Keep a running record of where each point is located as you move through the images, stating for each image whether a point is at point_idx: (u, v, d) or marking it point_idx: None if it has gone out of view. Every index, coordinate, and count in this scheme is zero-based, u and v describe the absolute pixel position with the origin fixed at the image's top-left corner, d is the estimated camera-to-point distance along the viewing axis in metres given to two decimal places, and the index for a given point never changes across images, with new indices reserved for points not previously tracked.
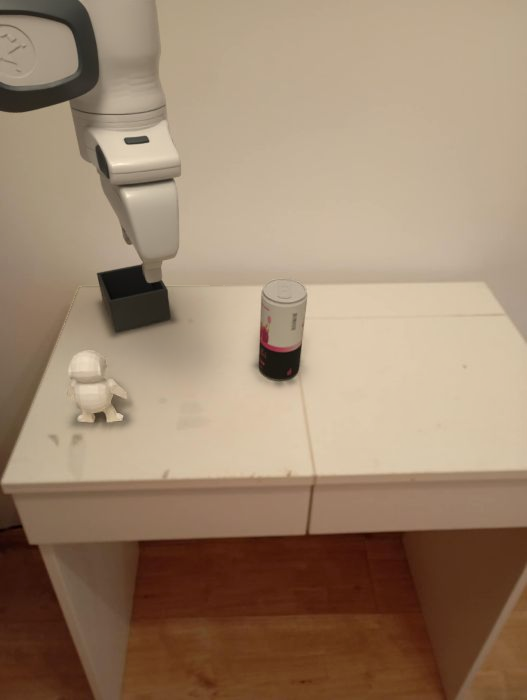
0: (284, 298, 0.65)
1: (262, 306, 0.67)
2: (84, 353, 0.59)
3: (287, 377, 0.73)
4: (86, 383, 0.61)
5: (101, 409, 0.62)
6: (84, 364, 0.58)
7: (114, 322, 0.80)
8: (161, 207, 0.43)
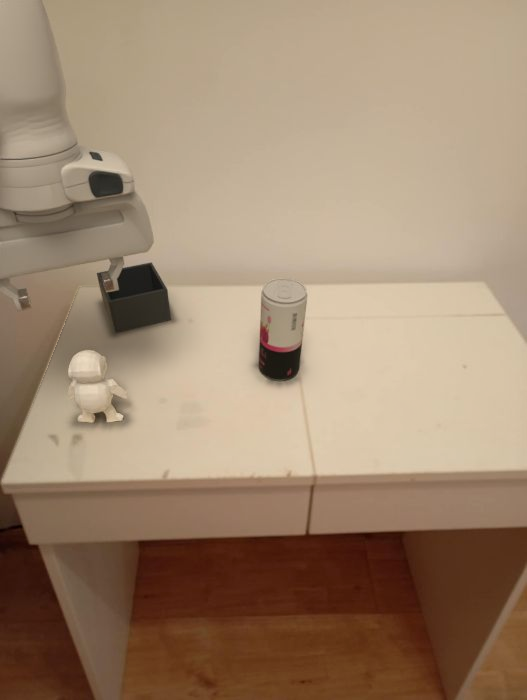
0: (284, 298, 0.65)
1: (262, 306, 0.67)
2: (84, 353, 0.59)
3: (287, 377, 0.73)
4: (86, 383, 0.61)
5: (101, 409, 0.62)
6: (84, 364, 0.58)
7: (114, 322, 0.80)
8: None
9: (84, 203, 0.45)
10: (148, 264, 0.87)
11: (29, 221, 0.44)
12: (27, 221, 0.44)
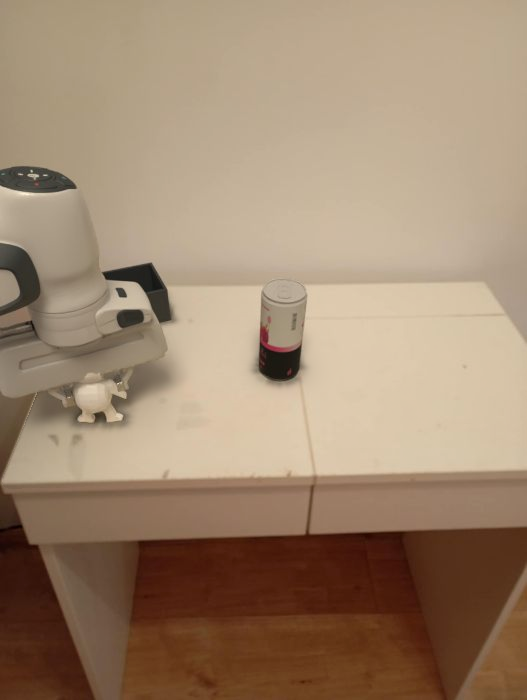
0: (284, 298, 0.65)
1: (262, 306, 0.67)
2: None
3: (287, 377, 0.73)
4: (85, 383, 0.61)
5: (101, 409, 0.62)
6: None
7: None
8: None
9: None
10: (148, 264, 0.87)
11: (68, 350, 0.54)
12: (66, 349, 0.54)
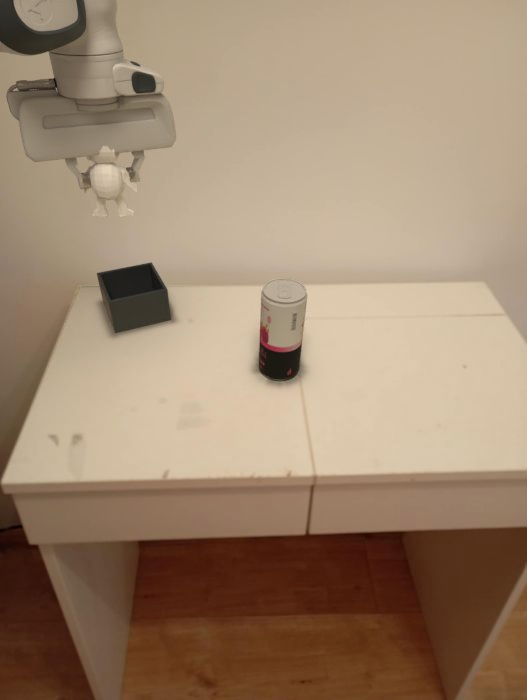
0: (284, 298, 0.65)
1: (262, 306, 0.67)
2: None
3: (287, 377, 0.73)
4: (100, 164, 0.66)
5: (114, 194, 0.68)
6: None
7: (114, 322, 0.80)
8: None
9: (127, 98, 0.61)
10: (148, 264, 0.87)
11: (87, 109, 0.59)
12: (85, 109, 0.59)
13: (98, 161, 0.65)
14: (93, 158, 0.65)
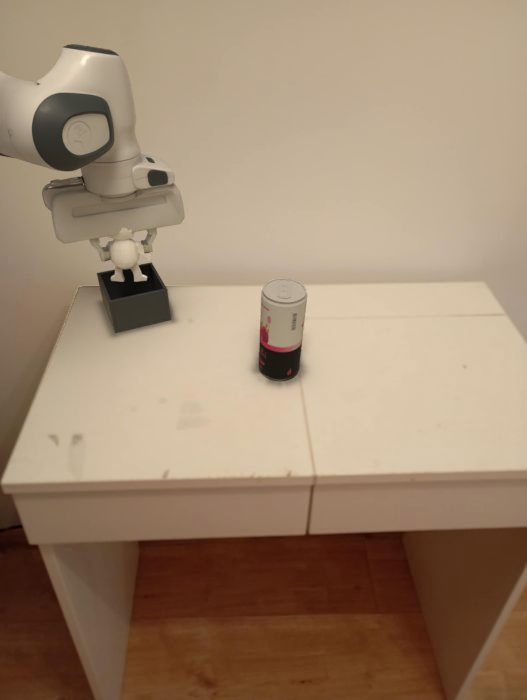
0: (284, 298, 0.65)
1: (262, 306, 0.67)
2: None
3: (287, 377, 0.73)
4: (119, 240, 0.76)
5: (130, 265, 0.78)
6: None
7: (114, 322, 0.80)
8: None
9: (143, 190, 0.71)
10: (148, 264, 0.87)
11: (109, 201, 0.70)
12: (108, 201, 0.70)
13: (117, 238, 0.76)
14: (113, 236, 0.75)
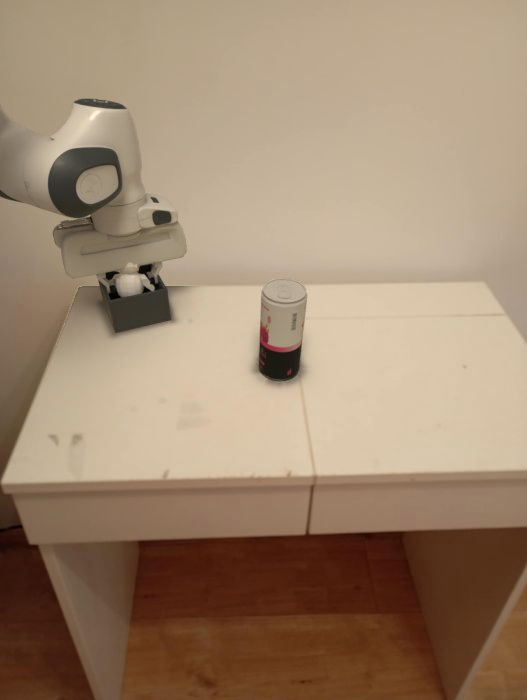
0: (284, 298, 0.65)
1: (262, 306, 0.67)
2: None
3: (287, 377, 0.73)
4: (125, 274, 0.80)
5: None
6: None
7: (114, 322, 0.80)
8: None
9: (148, 228, 0.75)
10: (148, 264, 0.87)
11: (116, 239, 0.74)
12: (115, 239, 0.74)
13: (123, 272, 0.80)
14: (119, 271, 0.79)
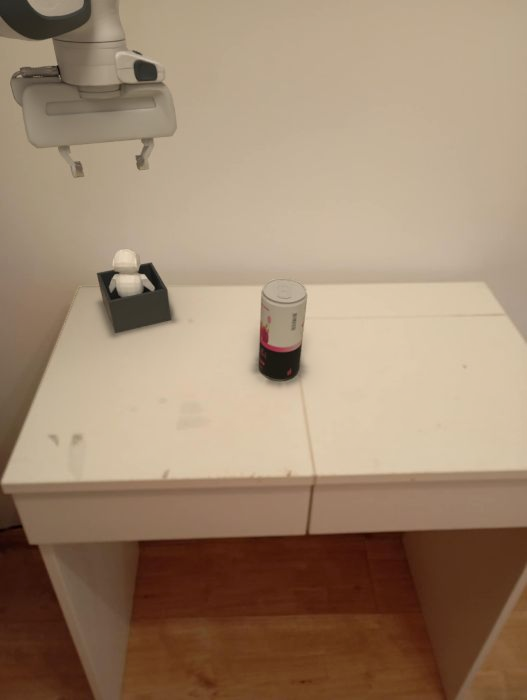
0: (284, 298, 0.65)
1: (262, 306, 0.67)
2: (124, 249, 0.78)
3: (287, 377, 0.73)
4: (125, 274, 0.80)
5: None
6: (125, 257, 0.78)
7: (114, 322, 0.80)
8: None
9: (129, 86, 0.62)
10: (148, 264, 0.87)
11: (89, 96, 0.60)
12: (88, 97, 0.60)
13: (123, 272, 0.80)
14: (119, 271, 0.79)
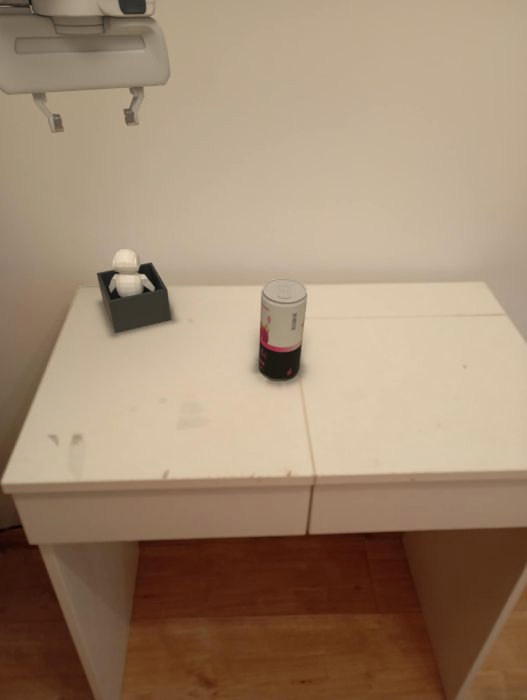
0: (284, 298, 0.65)
1: (262, 306, 0.67)
2: (124, 249, 0.79)
3: (287, 377, 0.73)
4: (125, 274, 0.80)
5: None
6: (125, 257, 0.78)
7: (114, 322, 0.80)
8: None
9: (113, 20, 0.53)
10: (148, 264, 0.87)
11: (66, 31, 0.52)
12: (65, 31, 0.52)
13: (123, 272, 0.80)
14: (119, 271, 0.79)
